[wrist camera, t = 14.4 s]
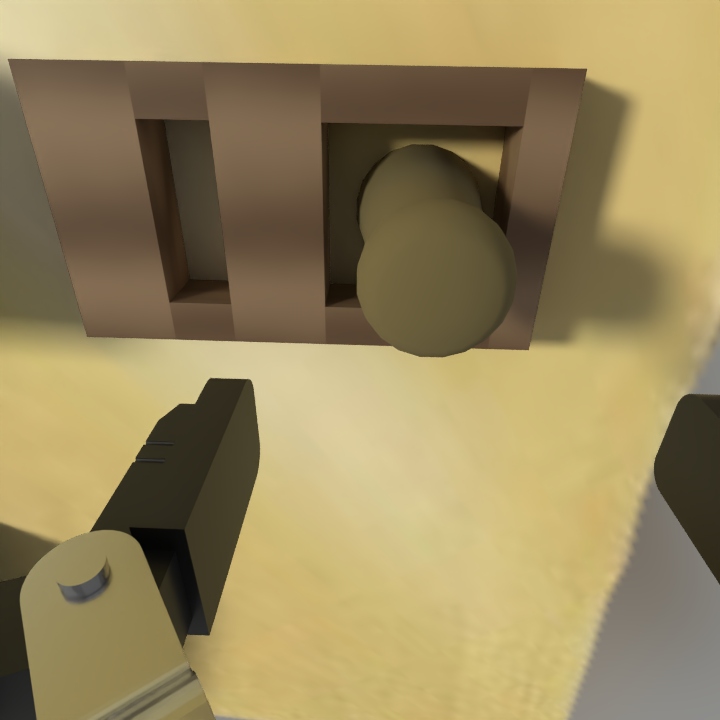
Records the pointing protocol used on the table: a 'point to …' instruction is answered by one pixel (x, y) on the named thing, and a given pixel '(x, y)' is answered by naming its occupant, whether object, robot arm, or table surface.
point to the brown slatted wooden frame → (267, 185)
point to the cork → (430, 254)
